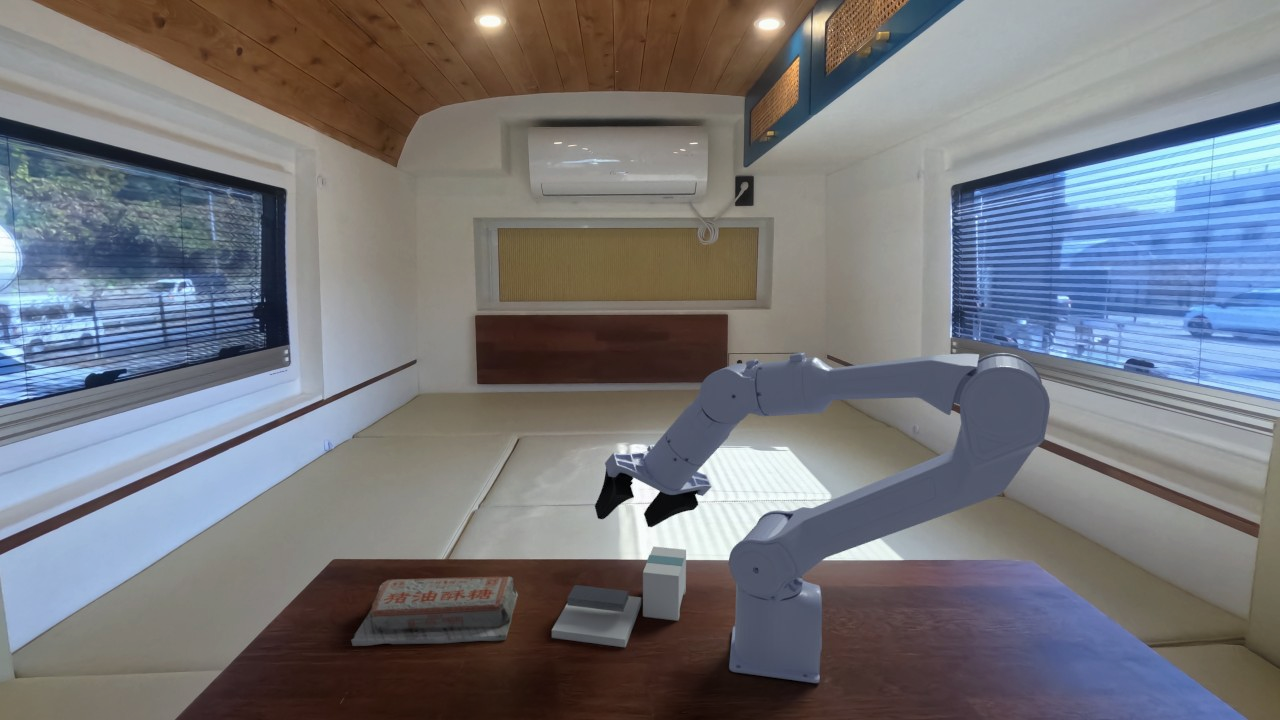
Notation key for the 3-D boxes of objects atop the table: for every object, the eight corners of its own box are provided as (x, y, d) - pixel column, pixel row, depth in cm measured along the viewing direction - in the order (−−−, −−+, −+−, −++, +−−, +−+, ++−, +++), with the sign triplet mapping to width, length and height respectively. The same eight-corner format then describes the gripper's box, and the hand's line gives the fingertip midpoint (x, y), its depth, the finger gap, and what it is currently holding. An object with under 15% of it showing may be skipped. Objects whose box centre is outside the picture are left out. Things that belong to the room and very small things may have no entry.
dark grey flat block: (628, 598, 74) (628, 591, 74) (622, 611, 72) (622, 604, 71) (575, 592, 76) (574, 585, 76) (567, 605, 73) (567, 597, 73)
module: (686, 590, 81) (686, 549, 80) (678, 620, 74) (679, 575, 73) (652, 587, 82) (652, 546, 81) (642, 616, 75) (642, 571, 74)
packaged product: (517, 564, 79) (505, 607, 69) (518, 598, 80) (506, 644, 70) (379, 568, 78) (347, 612, 68) (382, 602, 79) (350, 650, 69)
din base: (641, 604, 78) (641, 597, 77) (625, 647, 69) (625, 639, 69) (575, 596, 79) (575, 589, 79) (551, 637, 71) (551, 629, 70)
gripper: (718, 434, 76) (659, 499, 82) (627, 407, 68) (568, 481, 74) (740, 477, 71) (675, 543, 77) (643, 454, 63) (579, 529, 69)
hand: (623, 516), depth 75 cm, fingers open, 7 cm apart
